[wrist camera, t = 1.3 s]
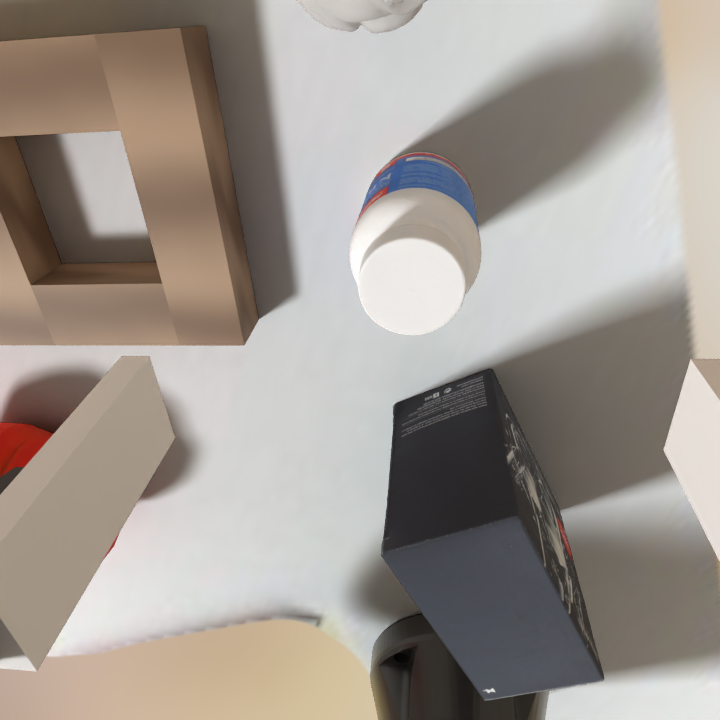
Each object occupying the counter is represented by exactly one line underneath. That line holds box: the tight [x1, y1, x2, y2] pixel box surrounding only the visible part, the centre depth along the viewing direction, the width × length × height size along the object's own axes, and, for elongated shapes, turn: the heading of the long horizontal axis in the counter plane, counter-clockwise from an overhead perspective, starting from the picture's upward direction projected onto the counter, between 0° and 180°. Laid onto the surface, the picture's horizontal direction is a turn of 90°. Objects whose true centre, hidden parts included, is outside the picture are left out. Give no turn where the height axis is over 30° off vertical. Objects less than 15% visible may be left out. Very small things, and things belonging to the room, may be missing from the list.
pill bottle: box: [350, 152, 481, 335], centre depth 24 cm, size 6×5×10 cm
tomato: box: [0, 423, 120, 558], centre depth 39 cm, size 13×12×8 cm
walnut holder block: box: [0, 26, 259, 345], centre depth 29 cm, size 15×15×3 cm
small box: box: [381, 369, 604, 701], centre depth 32 cm, size 13×7×12 cm, turn 28°
